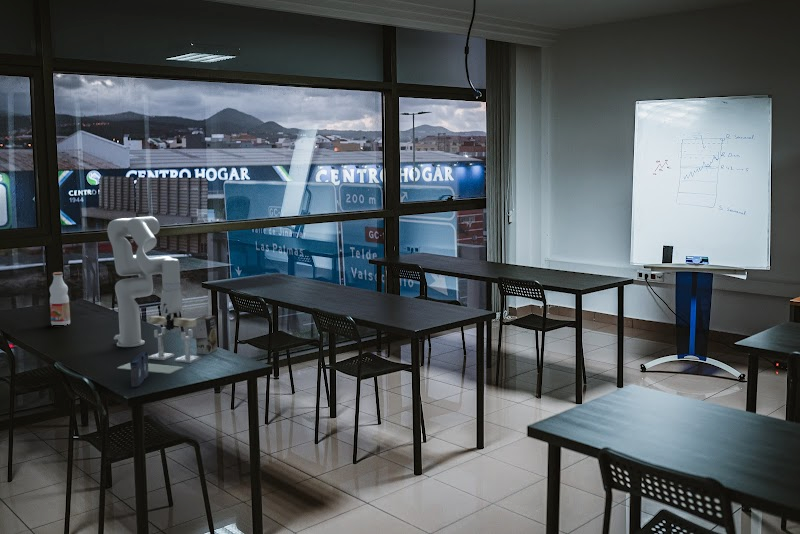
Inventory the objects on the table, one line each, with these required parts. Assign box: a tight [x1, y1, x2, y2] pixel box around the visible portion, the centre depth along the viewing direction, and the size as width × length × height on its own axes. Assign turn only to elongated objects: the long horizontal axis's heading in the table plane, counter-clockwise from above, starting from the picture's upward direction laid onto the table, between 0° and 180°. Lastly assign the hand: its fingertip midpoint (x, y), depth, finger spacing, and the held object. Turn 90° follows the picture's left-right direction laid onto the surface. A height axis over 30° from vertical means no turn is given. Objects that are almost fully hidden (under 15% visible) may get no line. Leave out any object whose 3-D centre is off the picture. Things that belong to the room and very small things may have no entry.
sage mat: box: [116, 362, 184, 375], centre depth 338 cm, size 26×10×1 cm, turn 70°
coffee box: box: [195, 315, 218, 355], centre depth 365 cm, size 9×6×16 cm
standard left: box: [148, 326, 175, 361], centre depth 355 cm, size 8×8×13 cm
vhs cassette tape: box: [129, 350, 150, 388], centre depth 318 cm, size 18×3×10 cm, turn 3°
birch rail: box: [149, 315, 197, 328], centre depth 351 cm, size 22×3×3 cm, turn 70°
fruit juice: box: [49, 271, 71, 326], centre depth 425 cm, size 9×9×28 cm
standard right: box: [174, 329, 202, 364], centre depth 350 cm, size 8×8×13 cm
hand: (173, 327), depth 352 cm, fingers closed on birch rail, 3 cm apart
